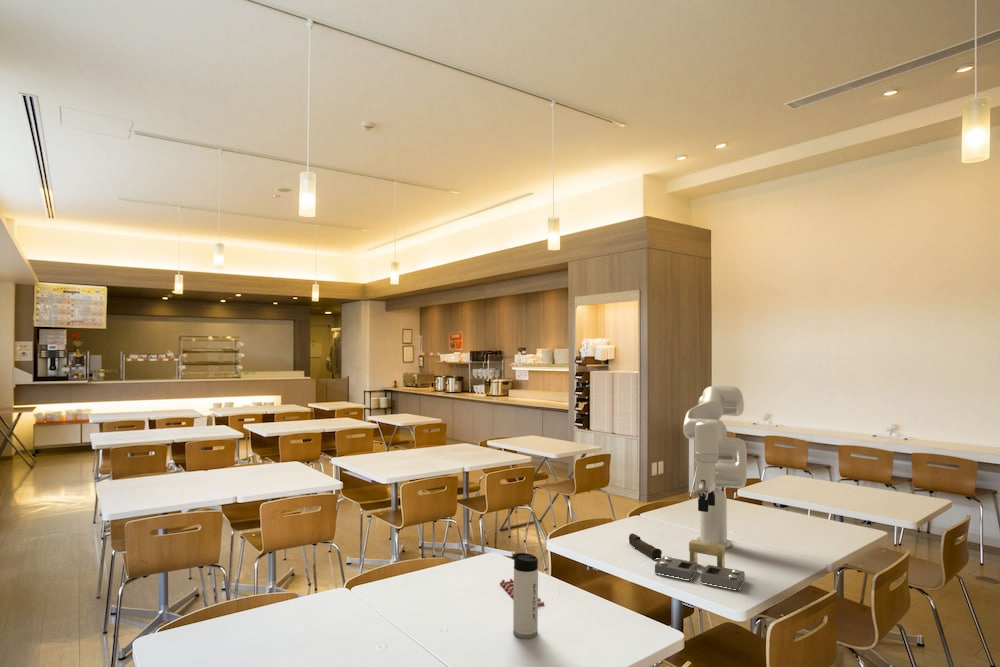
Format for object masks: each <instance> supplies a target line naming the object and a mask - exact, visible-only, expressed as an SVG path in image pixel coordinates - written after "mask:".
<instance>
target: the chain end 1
mask: <svg viewBox="0 0 1000 667" xmlns="http://www.w3.org/2000/svg"><path fill="white" fill-rule="evenodd" d="M698 565H699V564H698V562H697V563H696V562H691V561H690V560H687V559H686V560H684V559H681V558H680V559H679V558H675V557H672V556H671V557H670V556H663V557H661V558H660V559H659V561H657V562H656V563H655V564H654V574H655V573H660V574H664V575H669V576H674V577H679V578H683V579H689V580H690V579H691V578H692V577H693V576H694V574H695V573H696V572H697V571H698V570H699V569H698ZM697 573H698V572H697ZM697 573H696V574H697ZM696 574H695V575H696ZM694 577H695V576H694ZM694 577H693V578H694ZM693 578H692V579H693ZM692 579H691V580H692ZM691 580H690V581H691Z"/></svg>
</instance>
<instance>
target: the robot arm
mask: <svg viewBox="0 0 1000 667" xmlns="http://www.w3.org/2000/svg"><path fill="white" fill-rule="evenodd" d="M697 403H698V405H695V406H694V407H691V408H690V409H689V410H687V412H686V413H685V416H684V420H683V425H682V430H683V431H682V432H683V435H684V437H685V438H687V439H688V440H694V461H695V463H696V465H695V466H696V468H695V484H694V485H695V486H694V487H695V488H694V490H695V492H697V493H698V496H697V510H698V512H700V536H698V537H696V539H695V540H698V541H704V542H710V543H716V544H722V545H725V549H728V548H730V547H731V546H732V542H731V541H730V540H729V539H728V530H727V529H728V528H727V527H728V522H727V520H728V519H727V516H728V515H727V513H728V512H727V511H728V507H727V506H728V505H727V504H728V500H727V496H726V494H725V493H724V492H723V490H722V488H731V489H742V488H744V487H745V486H746V484H747V476H748V474H747V473H748V469H747V467H748V460H747V459H748V458H747V457H748V454H747V453H748V450H747V444H746V442H745V441H744V440H743V439H741V438H739V437H728V436H727V433H728V432H727V431H728V429H727V426H726V425H725V423H724V422H723V421H722V420H721V418H722V416H729V417H731V416H733V417H737V416H742V414H743V412H744V408H745V402H744V397H743V392H742V390H740V388H738V387H736V386H729V385H711V386H707V387H706V388H705V389H704V390H703V391H702V395H700V397H699V398H698V402H697Z"/></svg>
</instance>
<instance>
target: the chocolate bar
mask: <svg viewBox="0 0 1000 667" xmlns="http://www.w3.org/2000/svg"><path fill="white" fill-rule="evenodd" d="M499 585H500V587H501V588H502V589H503V590H504V591H505V593H506V594H508V596H509V597H510V598H511V599H512V600H513V601H514V578H510V579H509V580H505V579H501V581H500V582H499ZM541 606H542V607H543V606H545V602H544V601H541V598H540V597H538V607H541Z"/></svg>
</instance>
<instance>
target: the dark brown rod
mask: <svg viewBox="0 0 1000 667" xmlns="http://www.w3.org/2000/svg"><path fill="white" fill-rule="evenodd" d="M628 541H629V545H630V544H631V545H632V546H633V547H635V548H634V549H637V548H638V550H639V551H641V552H643V553H644V554H646V555H648V556H649V557H650V556H651V559H652V560H653V559H656V558H660V559H662V553H663V551H662V550H661V549H660V548H656V547H655V546H653V544H649V543H647V542H646V541H644V540H643V539H642V538H641V536H639V535H637V534H635V533H633V532H632V533H629V535H628ZM631 545H630V546H631ZM632 546H631V547H632ZM633 547H632V548H633Z"/></svg>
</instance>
